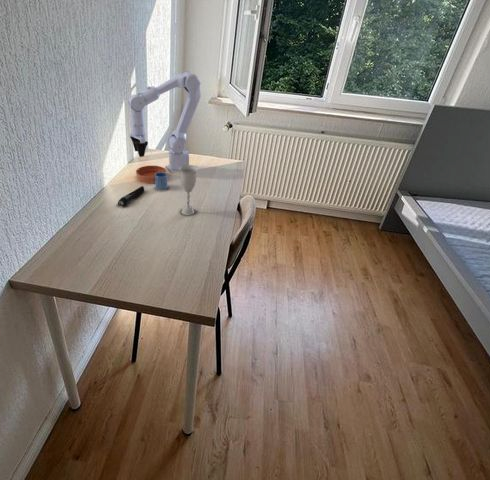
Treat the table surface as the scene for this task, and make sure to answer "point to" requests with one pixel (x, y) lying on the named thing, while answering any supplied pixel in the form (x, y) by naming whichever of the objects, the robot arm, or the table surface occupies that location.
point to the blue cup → (161, 181)
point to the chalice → (188, 185)
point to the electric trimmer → (130, 196)
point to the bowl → (148, 173)
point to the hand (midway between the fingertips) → (139, 153)
